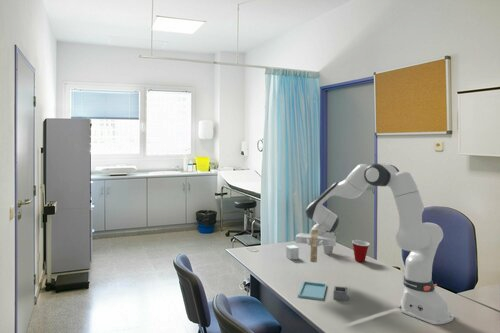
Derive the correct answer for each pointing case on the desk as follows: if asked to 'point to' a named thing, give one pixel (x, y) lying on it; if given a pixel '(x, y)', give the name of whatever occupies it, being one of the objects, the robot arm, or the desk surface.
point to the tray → (312, 290)
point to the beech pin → (314, 245)
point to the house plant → (328, 248)
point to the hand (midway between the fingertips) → (313, 244)
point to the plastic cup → (360, 250)
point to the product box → (292, 252)
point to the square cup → (340, 293)
